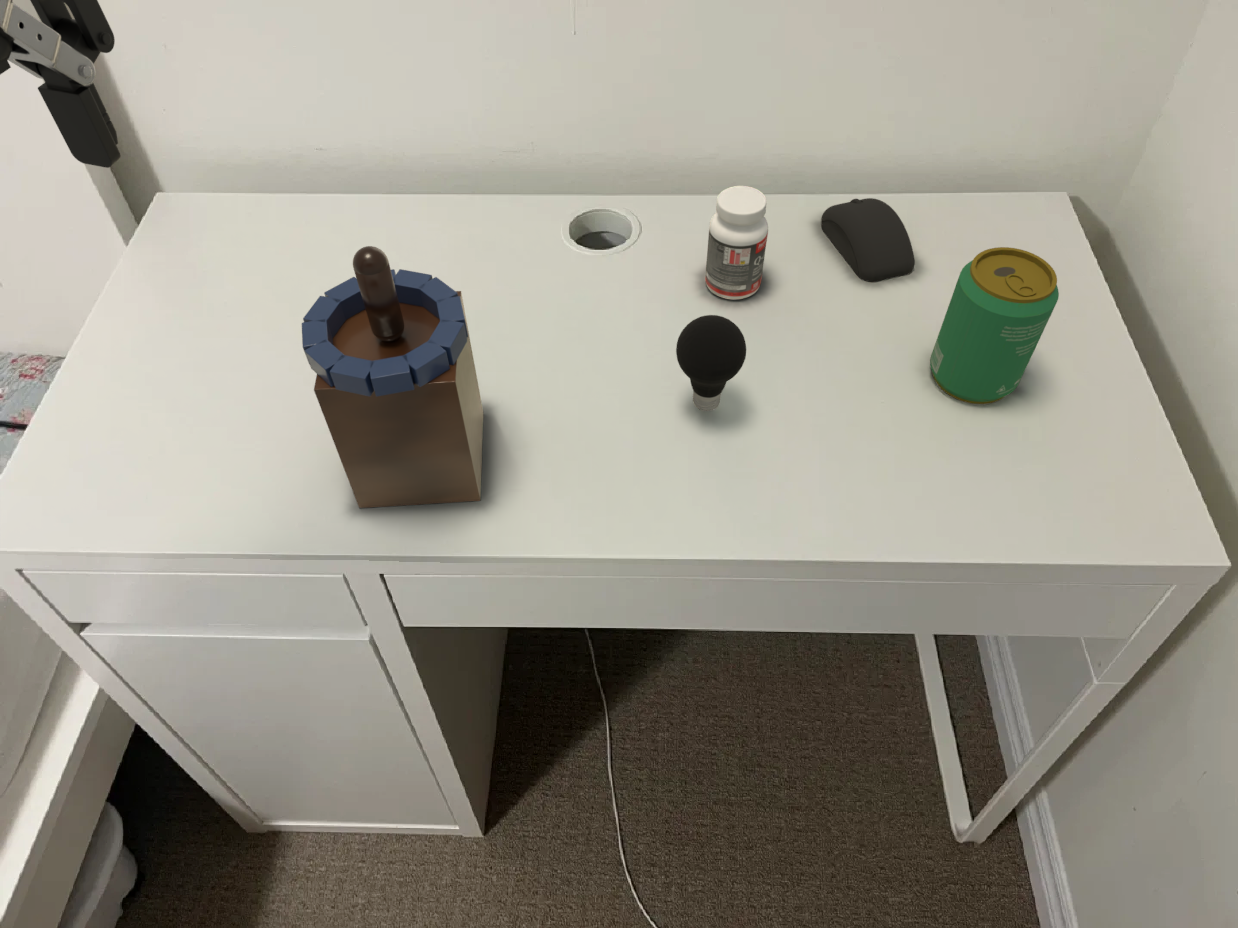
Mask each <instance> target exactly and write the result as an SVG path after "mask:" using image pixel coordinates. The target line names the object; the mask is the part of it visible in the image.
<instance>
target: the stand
mask: <svg viewBox="0 0 1238 928" xmlns="http://www.w3.org/2000/svg"><path fill="white" fill-rule="evenodd" d="M390 266H391V265H390V261H389V259H388V256H387V255H386V253H385V252H384V251H383V250H382V249H381V248H379V247H377V246H372V245H366V246H363V247H361V248H360V249H358V250H357V251H356V252H355V254H354V256H353V259H352V268H353V271H354V275H355V278H356V279H357V282H358V285H359V289H360V292H361V296H362V299H363V303H364V306H365V309H364V310H363V311H361V312H359V313H357V314H355V315H354V316H352V317H350V318H348V319H346V320H345V322H344V323H343V325H342V326H341V327H340V329H339V330H338V332H337V333H336V334H335V336H334V337H333V345H334V346H335V347H336V348H337V349H338V350H339V351H340V352H342V353H343V354H344V355H346V356H351V357H356V358H361V359H366V360H371V361H374V360H380V359H386V358H391V357H397V356H403V355H405V354H407V353H409V352H410V351H412V350H414V349H415V348H417V347H419V346H420V345H422V344H424V343H425V342H427V341H428V340H429V339H430V337H431V335H432V334H433V332H434V330H435V329H436V327H437V325H438V324H439V322H440V319H438V318H437V317H436V316H435V315H433V314H432V313H431V312H429V311H428V310H427V309H426V308H424V307H422V306H416V305H411V304H406V303H400V302H399V301H398V297H397V293H396V289H395V285H394V281H393V277H392V273H391V270H392V268H391V267H390ZM455 291H456V292H457V293H458V296H460V298H461V303H462V307H463V312H464V317H465V322H466V327H467V332H468V337H467V343H466V344H465V346H464V348H463V350H462V352H461V353H460V355H459V357H458V359H457V360H456V362H455V364H454V365H449V367H450V369H449V370H447V371H446V372H444V373H442V374H441V375H439V376H438V377H436V378H434V379H433V380H431V381H430V382H428V383H426V384H425V385H423V386H421V387H419V386H418V385H417V384H415V383H414V390H410V391H405V392H399V393H394V394H388V395H383V396H376V395H375V391H374V392H373V393H372V395H371V396H365V395H360V394H356V393H351V392H346V391H341V390H337V389H336V388H335V385H334V386H333V387H331V386H330V385H329V384H327V383H326V382H325V381H324V380H323V379H322V378H321V377H320V376H319V375H318V374H317V373H316V376H315V382H314V386H313V392H314V394H315V397H316V399H317V402H318V404H319V406H320V410H321V412H322V415H323V418H324V420H325V423H326V425H327V428H328V431H329V433H330V436H331V438H332V441H333V444H334V446H335V449H336V452H337V454H338V457H339V460H340V462H341V465H342V467H343V469H344V472H345V475H346V478H347V480H348V483H349V485H350V488H351V491H352V493H353V496H354V498H355V501H356V504H357V507H358V508H359V509H365V508H366V509H367V508H383V507H384V508H385V507H399V506H416V505H418V506H419V505H431V504H449V503H464V502H479V501H481V498H482V497H481V495H482V494H481V493H482V465H483V437H484V435H483V434H484V433H483V432H484V409H483V404H482V397H481V393H480V392H481V391H480V387H479V382H478V376H477V371H476V365H475V360H474V355H473V348H472V343H471V337H470V331H469V327H468V326H469V325H468V321H467V315H466V311H465V305H464V299H463V293H462V291H461V290H455Z"/></svg>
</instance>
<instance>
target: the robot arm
mask: <svg viewBox="0 0 1238 928" xmlns="http://www.w3.org/2000/svg"><path fill="white" fill-rule="evenodd" d="M29 1H30V3H31V5H32V6H33V8H34V10H35V11H36V14H37V15H38V17H39V19H40V20H39V19H38V18H37V17H35V16H34V15H32V14H31V13H29V12H27V11H26V10H24V9H23V8H21V7H20V6H18V5H17V4H16V3H14V2H13V0H0V76H1V75H2V74H3V73H5V72H6V71H8V70H10V69H11V68H12V67H11V64H10V63H12V64H13V65H15V66H17V67H18V68H20V69H21V70H23V71H25V72H27V73H29V74H30V75H31V76H34V77H36V78H37V79H41V80H43V81H44V82H43V83H42V84H40V85H39V86H38V87H37V91H38V92H39V94H40V96H41V98H42V100H43V101H44V104H45V105H46V108H47V109H48V111H49V113H50V115H51V117H52V119H53V121H54V123H55V125H56V126H57V128H58V130H59V133H60V134H61V136H62V138H63V140H64V142H65V144H66V146H67V147H68V150H69V151H70V154H71V155H72V156H73V157H74V159H75V160H77V161H78V162H79V163H82V164H84V165H91V166H94V167H100V168H106V169H109V168H111V167H112V166H113V165H115V163H117V162H118V161H119V160H121V152H120V150H119V147H118V146H117V145H118V144H119V141H118V134H117V131H116V128H115V126H114V123H113V122H112V120H111V117H110V116H109V113H108V112H107V109H106V107H105V104H104V102H103V100H102V98H101V96H100V94H99V91H98V90H97V88H96V85H95V83H94V82H95V80H96V76H97V75H96V73H97V71H96V67H95V63H96V61H97V59H98V57H100V54H101V53H104V54H108V53H110V52H112V50H113V49H114V46H115V34H114V32H113V29H112V27H111V25H110V24H109V22H108V19H107V17H106V15H105V13H104V11H103V9H102V7H101V5H100V3H99V1H98V0H29ZM68 8H69V9H68ZM70 12H71V13H70ZM71 14H72V16H73V17H72V16H71ZM9 62H10V63H9Z"/></svg>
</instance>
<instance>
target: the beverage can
mask: <svg viewBox="0 0 1238 928" xmlns="http://www.w3.org/2000/svg"><path fill="white" fill-rule="evenodd" d="M1057 283H1058V277H1057V273H1056V271H1055V269H1054V268H1053V267H1052V265H1050V264H1049V262H1047V261H1046V260H1045V259H1044V258H1042V257H1040V256H1039V255H1037V254H1034V253H1032V252H1030V251H1027V250H1024V249H1021V248H1015V247H1008V246H1005V247H1004V246H998V247H992V248H987V249H985V250H983V251H980V252H979V253H977V254H976V255H975V257H973V259H972V260H971V261H969V262H968V263H966V264H965V265H964V266H963V267H962V269H961V271H960V272H959V276H958V279H957V282H956V284H955V287H954V290H953V292H952V295H951V297H950V301H949V303H948V306H947V309H946V312H945V315H944V318H943V321H942V324H941V326H940V329H939V332H938V335H937V339H936V341H935V344H934V347H933V349H932V352H931V354H930V359H929V366H930V369H931V370H930V371H931V372H932V373H931V374H932V378H933V380H934V382H935V383H936V385H937V386H938V387H939V388H940V389H941V390H942V391H943V392H944V393H946V394H947V395H948V396H950V397H951V398H954V399H956V400H957V401H961V402H965V403H967V404H975V405H988V404H994V403H996V402H999V401H1001V400H1002V399H1004V398H1005V397H1007V396H1008V395H1010V394H1011V393H1013V392H1014V391H1015V390H1016V389H1017V387H1018V386H1019V384H1020V382H1021V379H1022V378H1023V376H1024V373H1025V371H1026V370H1027V367H1028V365H1029V362H1030V360H1031V359H1032V356H1033V354H1034V352H1035V350H1036V348H1037V346H1038V343H1039V341H1040V339H1041V337H1042V335H1043V333H1044V331H1045V328H1046V327H1047V324H1048V322H1049V320H1050V318H1051V316H1052V314H1053V312H1054V310H1055V308H1056V305H1057V303H1058V301H1059V296H1060V292H1059V288H1058V284H1057Z"/></svg>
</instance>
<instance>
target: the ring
mask: <svg viewBox="0 0 1238 928" xmlns="http://www.w3.org/2000/svg"><path fill="white" fill-rule="evenodd" d="M391 273H392V277H393V281H394V285H395V289H396V293H397V297H398V301H399V302H400V303H406V304H411V305H416V306H422V307H424V308H426V309H427V310H428V311H429V312H431V313H432V314H433V315H435V316H436V317H437V318H438V319H440V322H439V324H438V325H437V327H436V329H435V330H434V332H433V334H432V335H431V337H430V339H429V340H428V341H427V342H425V343H424V344H422V345H420V346H419V347H417V348H415V349H414V350H412V351H410V352H409V353H407V354H405V355H403V356H397V357H391V358H386V359H380V360H374V361H371V360H366V359H361V358H356V357H351V356H346V355H344V354H343V353H342V352H340V351H339V350H338V349H337V348H336V347H335V346H334V345H333V337H334V336H335V334H336V333H337V332H338V330H339V329H340V327H341V326H342V325H343V323H344V322H345V320H346V319H348V318H350V317H352V316H354V315H355V314H357V313H359V312H361V311H363V310H364V309H365V306H364V303H363V299H362V296H361V292H360V289H359V285H358V282H357V279H356V276H352V277H350V278H348V279H346V280H344V281H343V282H341V283H339V284H337V285H336V286H333V287H332V288H330V289H328V290H325V291H324V293H323V294H324V296H323V295H319V296H318V298H317V299H316V301H315V302H314V303H313V304H312V305H311V307H310V308H309V310H308V311H307V312H306V314H305V315H304V316H303V318H302V322H301V340H302V341H301V342H302V350H303V352H304V354H305V355H304V356H305V357H306V359H307V363H308V365H309V366H310V369H311V370H312V371H313V372H314V373H315V374H316V375H317V374H318V375H319V376H320V377H321V378H322V379H323V380H324V381H325V382H326V383H327V384H329V385H330V386H331V387H333V386H334V385H335V388H336V389H337V390H341V391H346V392H351V393H356V394H360V395H365V396H371V395H372V393H373V392H374V391H375V395H376V396H383V395H388V394H394V393H399V392H405V391H410V390H414V383H415V384H417V385H418V386H419V387H421V386H423V385H425V384H426V383H428V382H430V381H431V380H433V379H434V378H436V377H438V376H439V375H441V374H442V373H444V372H446V371H447V370H449V369H450V367H449V365H454V364H455V362H456V360H457V359H458V357H459V355H460V353H461V352H462V350H463V348H464V346H465V344H466V343H467V337H468V332H467V327H466V322H465V317H464V312H463V307H462V303H461V298H460V296H458V293H457V292H456V291H457V290H455V289H454V288H452V287H451V286H450V285H448V284H446V283H445V282H444V281H443V280H441V279H440V278H439V277H437V276H434V277H433V275H432V274H430V273H424V272H418V271H414V270H413V271H412V270H408V269H402V268H400V269H398V271H397V272H396V270H395V269H393V268H391Z"/></svg>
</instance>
